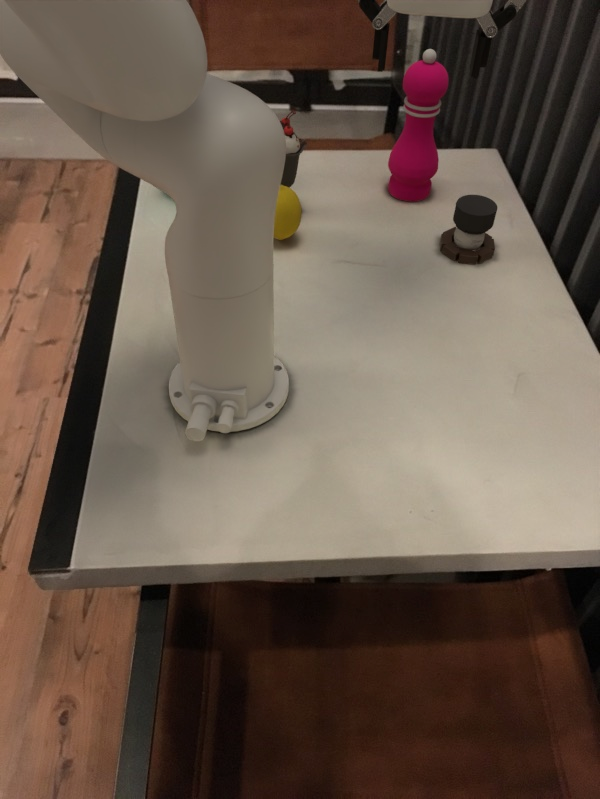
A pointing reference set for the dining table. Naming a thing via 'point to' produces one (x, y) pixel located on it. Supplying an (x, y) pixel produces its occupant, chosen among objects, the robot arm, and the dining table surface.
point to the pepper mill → (418, 130)
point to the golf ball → (468, 240)
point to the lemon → (286, 213)
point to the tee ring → (466, 255)
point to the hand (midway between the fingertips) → (427, 70)
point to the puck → (474, 214)
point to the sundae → (291, 152)
